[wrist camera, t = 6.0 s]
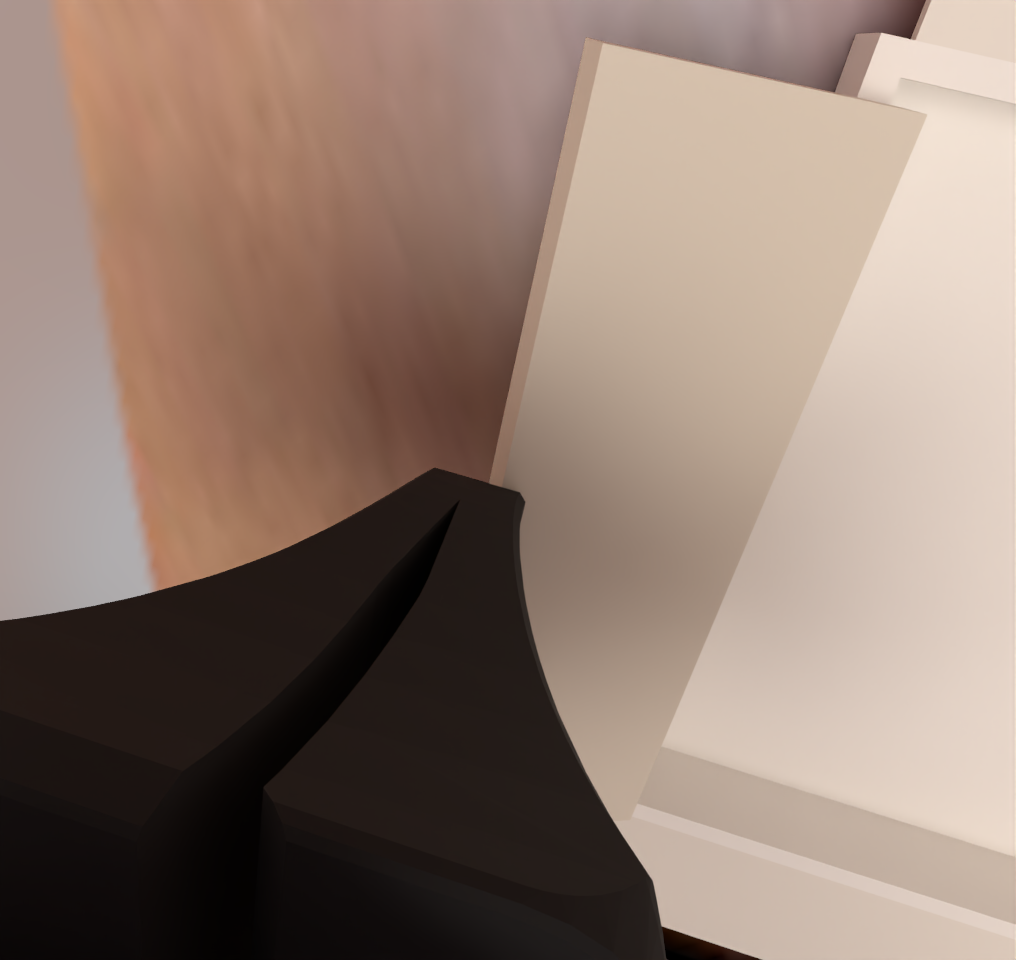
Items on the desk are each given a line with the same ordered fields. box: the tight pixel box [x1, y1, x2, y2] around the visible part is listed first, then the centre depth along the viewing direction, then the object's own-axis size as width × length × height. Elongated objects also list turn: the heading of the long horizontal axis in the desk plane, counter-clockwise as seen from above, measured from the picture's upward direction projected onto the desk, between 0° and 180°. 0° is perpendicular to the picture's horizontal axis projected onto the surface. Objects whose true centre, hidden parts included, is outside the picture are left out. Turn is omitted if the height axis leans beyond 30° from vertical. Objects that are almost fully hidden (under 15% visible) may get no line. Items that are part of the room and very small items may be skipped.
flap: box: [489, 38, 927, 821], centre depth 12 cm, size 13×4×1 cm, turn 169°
